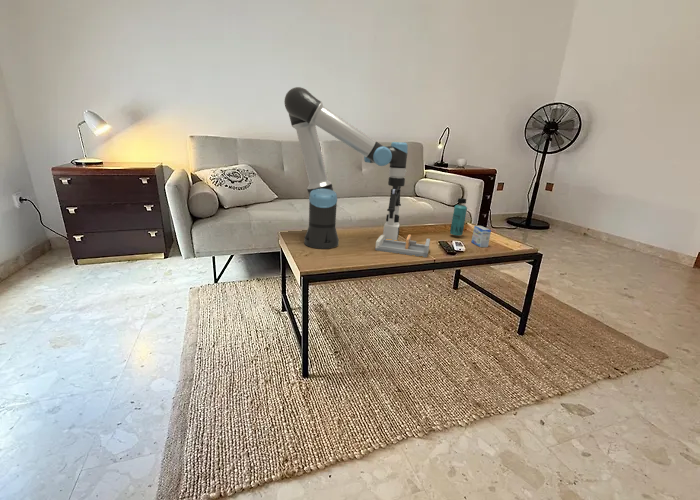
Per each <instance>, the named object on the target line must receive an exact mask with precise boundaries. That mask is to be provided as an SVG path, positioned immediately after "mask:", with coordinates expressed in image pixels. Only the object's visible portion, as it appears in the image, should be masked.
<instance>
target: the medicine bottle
mask: <svg viewBox="0 0 700 500" xmlns="http://www.w3.org/2000/svg"><path fill="white" fill-rule="evenodd" d="M388 216H389V213H387V214H386V218H385V219H386V220H385V222H384V224H383V233H382V235H385V236H384V239H392V240H397V241H399V235H400V227H401V223H399V221H400V215H397V214H395V217H394V225H388Z"/></svg>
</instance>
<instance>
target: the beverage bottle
mask: <svg viewBox="0 0 700 500" xmlns="http://www.w3.org/2000/svg"><path fill="white" fill-rule="evenodd" d="M457 203H458V204H456V205H454V207H453V213H452V219H451V225H450V229H449V231H450V232H449V233H450V234H451V235H453V236H458V237H459V236H460V237H461V236H463V234H464V227H465V222H466V217H467V210H468V207H467V205H464V204H466V203H467V199H466V198H460V197H459V198H458V199H457Z"/></svg>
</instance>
